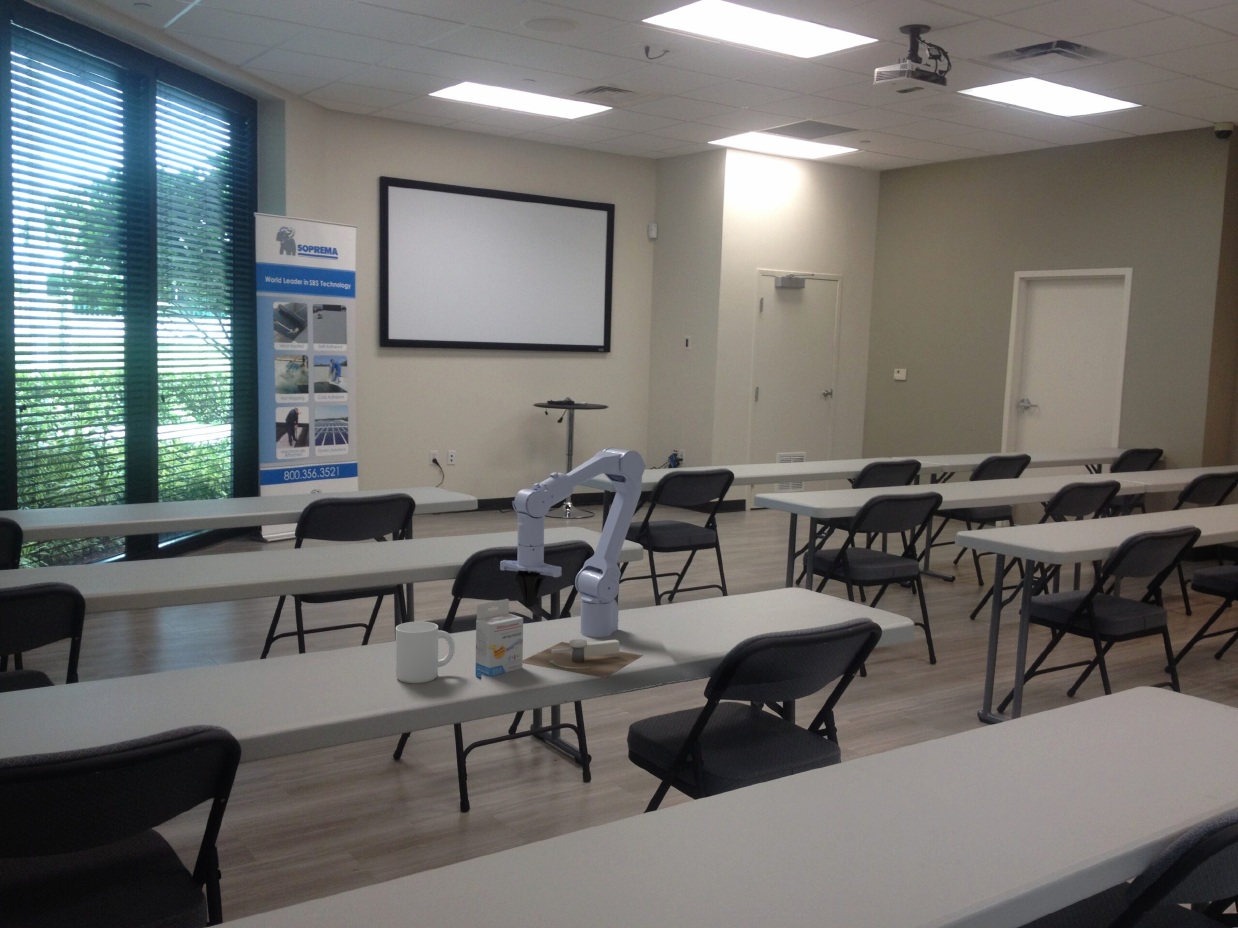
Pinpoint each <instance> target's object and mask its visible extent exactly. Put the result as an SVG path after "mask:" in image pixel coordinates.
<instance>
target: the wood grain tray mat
mask: <svg viewBox="0 0 1238 928" xmlns="http://www.w3.org/2000/svg"><path fill="white" fill-rule="evenodd" d="M562 648H571V646H570V642H565V641H560V642H558V643H556V644H554V645H552V646H550V647H547V648H546V649H544V650H542V651H540V652H538V653H536V654H533V655H531V656H529V657H527V658H525V659H523V660H522V664H526V665H532V666H538V667H542V668H549V669H553V670H559V671H565V672H571V673H576V674H582V675H587V676H591V677H598V678H604V679H606V678H608V677H609V676H611V675H613V674H614V673H616V672H618V671H620V670H621V669H623V668H624V667H626V666H628V665H629V664H631V663H633V662H634V661H635V662H636V660H638V659H640V658H642V657H643V656H644V655H643V654H639V653H638V654H636V653H632V652H625V651H620V650H619V653H614V654H605V655H596V656H587V657H584V661H583V662H573V661H572V651H570V652H561V653H552V650H553V649H562Z"/></svg>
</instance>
